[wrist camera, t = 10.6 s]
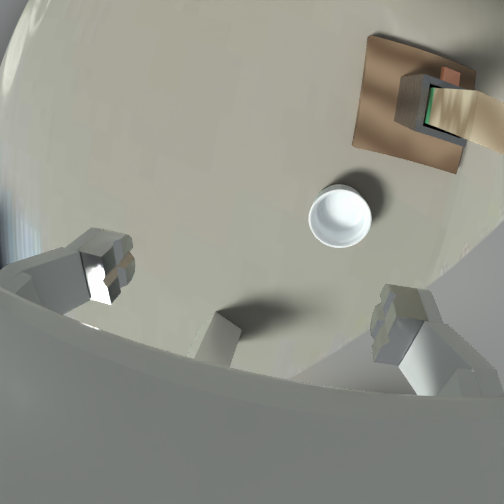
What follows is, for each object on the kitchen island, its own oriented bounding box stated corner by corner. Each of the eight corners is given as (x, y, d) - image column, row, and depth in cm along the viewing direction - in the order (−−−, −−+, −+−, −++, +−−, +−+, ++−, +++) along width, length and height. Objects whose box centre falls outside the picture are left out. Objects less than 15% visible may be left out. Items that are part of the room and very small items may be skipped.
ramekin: (373, 227, 46) (377, 240, 42) (319, 240, 49) (318, 254, 46) (359, 173, 43) (363, 182, 39) (302, 189, 46) (300, 198, 42)
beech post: (420, 87, 28) (478, 90, 16) (450, 97, 28) (517, 109, 15) (415, 119, 30) (469, 141, 18) (445, 129, 30) (508, 157, 17)
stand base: (367, 37, 33) (369, 35, 31) (470, 71, 31) (476, 71, 29) (352, 144, 41) (353, 146, 39) (451, 170, 39) (456, 174, 37)
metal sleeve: (402, 65, 32) (425, 59, 23) (444, 79, 31) (477, 80, 23) (393, 121, 36) (414, 131, 27) (435, 133, 35) (465, 147, 27)
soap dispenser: (234, 350, 65) (203, 437, 47) (199, 328, 64) (159, 413, 45) (251, 335, 62) (222, 428, 43) (215, 311, 61) (174, 402, 42)
